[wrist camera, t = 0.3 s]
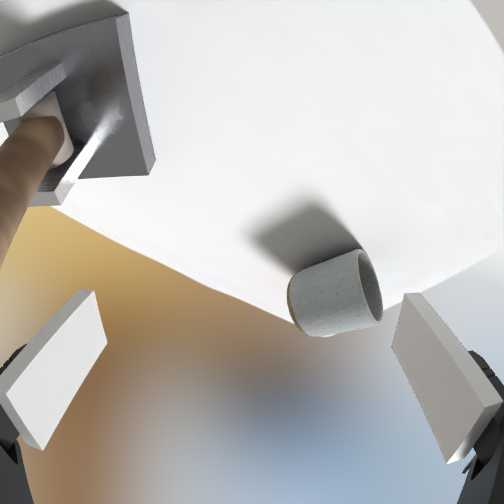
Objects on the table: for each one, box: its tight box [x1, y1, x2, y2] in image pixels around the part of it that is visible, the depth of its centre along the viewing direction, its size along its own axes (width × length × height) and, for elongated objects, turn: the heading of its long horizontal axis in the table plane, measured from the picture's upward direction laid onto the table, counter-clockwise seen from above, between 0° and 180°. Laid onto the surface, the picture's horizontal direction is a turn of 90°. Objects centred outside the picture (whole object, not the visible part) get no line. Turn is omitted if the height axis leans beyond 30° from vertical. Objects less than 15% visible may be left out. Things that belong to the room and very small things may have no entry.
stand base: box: [0, 13, 156, 207], centre depth 17 cm, size 12×12×7 cm
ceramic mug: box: [287, 249, 383, 336], centre depth 32 cm, size 11×8×8 cm
